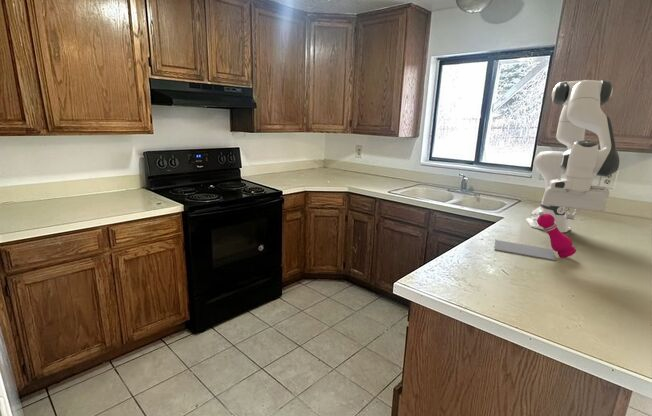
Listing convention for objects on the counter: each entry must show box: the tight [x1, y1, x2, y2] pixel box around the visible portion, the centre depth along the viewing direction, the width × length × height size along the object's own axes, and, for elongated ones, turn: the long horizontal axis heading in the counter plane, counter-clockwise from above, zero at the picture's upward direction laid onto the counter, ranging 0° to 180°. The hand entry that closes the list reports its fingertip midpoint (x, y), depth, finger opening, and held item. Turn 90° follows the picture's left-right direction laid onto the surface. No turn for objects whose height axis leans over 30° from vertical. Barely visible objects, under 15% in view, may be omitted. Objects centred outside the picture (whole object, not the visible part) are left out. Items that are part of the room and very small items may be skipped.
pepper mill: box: [537, 212, 577, 259], centre depth 140 cm, size 7×7×20 cm
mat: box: [494, 239, 557, 262], centre depth 147 cm, size 22×13×1 cm, turn 64°
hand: (569, 218), depth 137 cm, fingers closed
